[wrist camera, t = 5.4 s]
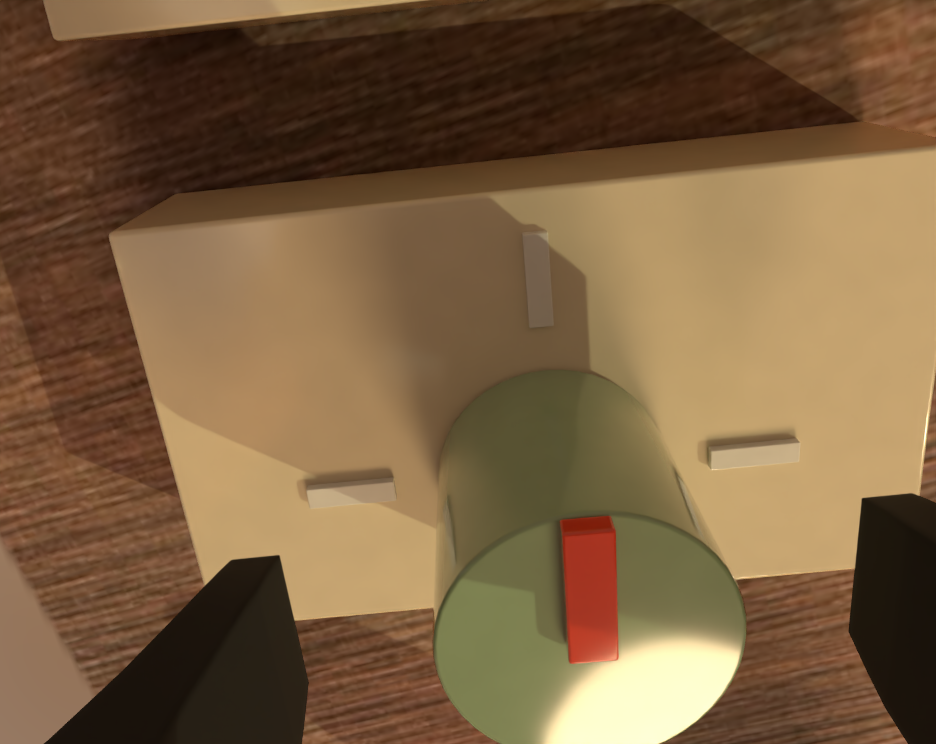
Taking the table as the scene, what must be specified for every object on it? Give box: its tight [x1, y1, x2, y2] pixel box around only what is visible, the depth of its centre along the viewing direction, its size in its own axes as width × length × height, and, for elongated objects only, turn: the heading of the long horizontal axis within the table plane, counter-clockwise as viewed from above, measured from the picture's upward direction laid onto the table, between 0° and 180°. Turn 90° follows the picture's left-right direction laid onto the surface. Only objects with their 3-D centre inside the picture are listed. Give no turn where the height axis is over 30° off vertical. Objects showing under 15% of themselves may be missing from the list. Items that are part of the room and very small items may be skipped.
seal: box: [432, 370, 747, 744], centre depth 11 cm, size 4×4×4 cm
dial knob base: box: [109, 121, 936, 621], centre depth 14 cm, size 12×8×3 cm
